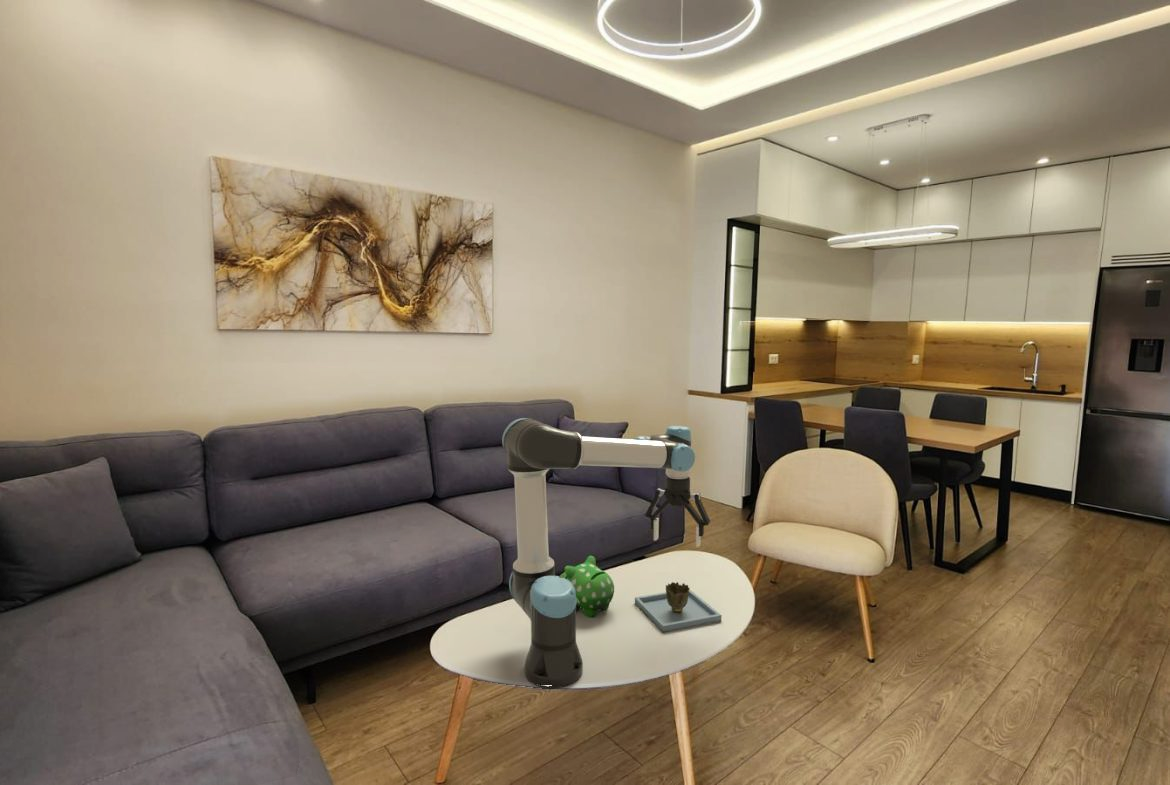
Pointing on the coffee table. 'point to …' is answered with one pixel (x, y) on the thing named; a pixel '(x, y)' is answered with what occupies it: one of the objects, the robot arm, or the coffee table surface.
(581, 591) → the piggy bank
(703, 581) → the coffee table surface
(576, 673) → the robot arm
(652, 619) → the tray
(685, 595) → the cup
